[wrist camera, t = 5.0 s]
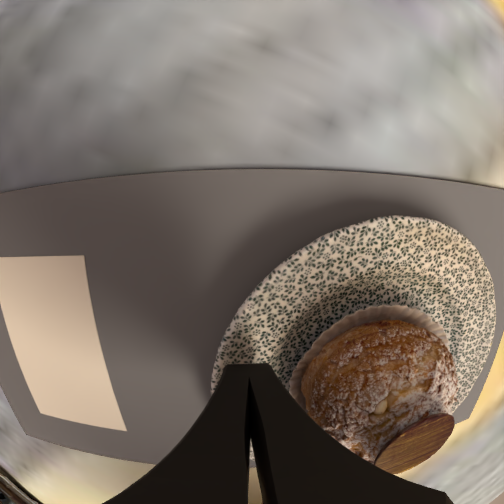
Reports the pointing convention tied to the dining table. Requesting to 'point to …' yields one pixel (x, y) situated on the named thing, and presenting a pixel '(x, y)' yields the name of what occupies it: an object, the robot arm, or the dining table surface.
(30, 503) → the chocolate cake
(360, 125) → the dining table surface
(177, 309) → the label panel
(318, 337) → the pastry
